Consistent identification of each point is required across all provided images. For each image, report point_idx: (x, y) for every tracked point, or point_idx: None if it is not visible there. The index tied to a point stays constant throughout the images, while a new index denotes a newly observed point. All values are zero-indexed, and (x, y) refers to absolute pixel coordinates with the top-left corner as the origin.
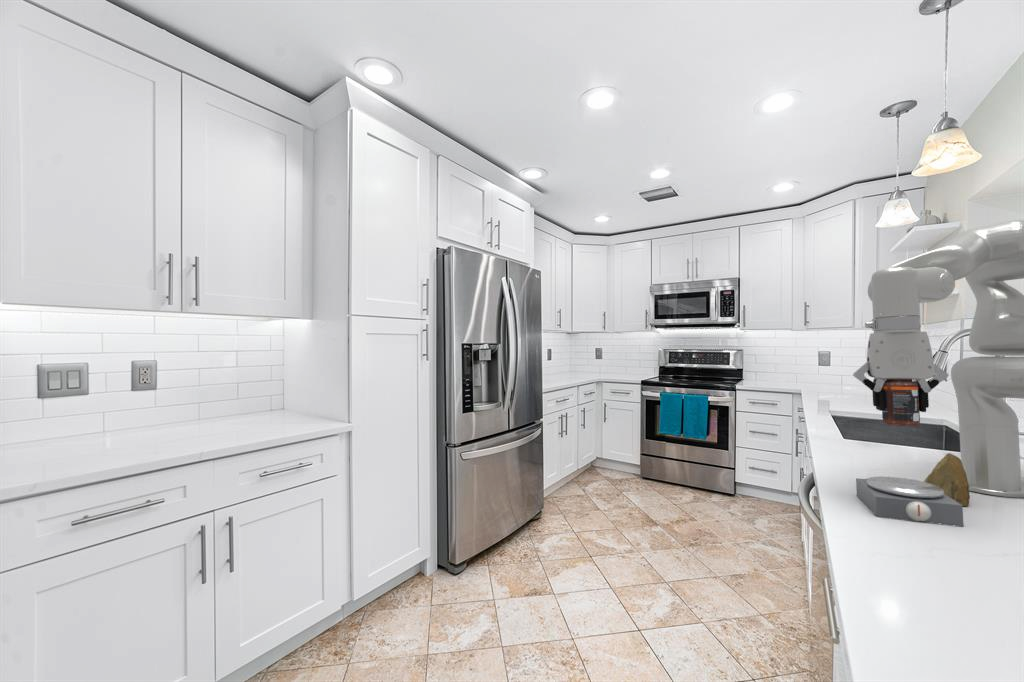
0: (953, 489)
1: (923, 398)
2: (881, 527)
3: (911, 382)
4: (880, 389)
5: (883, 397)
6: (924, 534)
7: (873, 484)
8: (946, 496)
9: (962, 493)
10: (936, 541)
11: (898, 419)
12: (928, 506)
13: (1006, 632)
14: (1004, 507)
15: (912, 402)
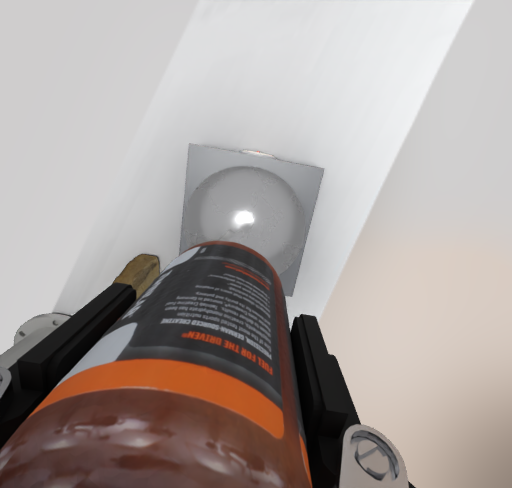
0: (143, 274)
1: (72, 328)
2: (339, 107)
3: (32, 483)
4: (348, 445)
5: (313, 373)
6: (284, 86)
7: (304, 219)
8: (187, 200)
9: (135, 266)
10: (284, 51)
11: (255, 258)
12: (241, 152)
13: None
14: (88, 263)
15: (166, 291)
